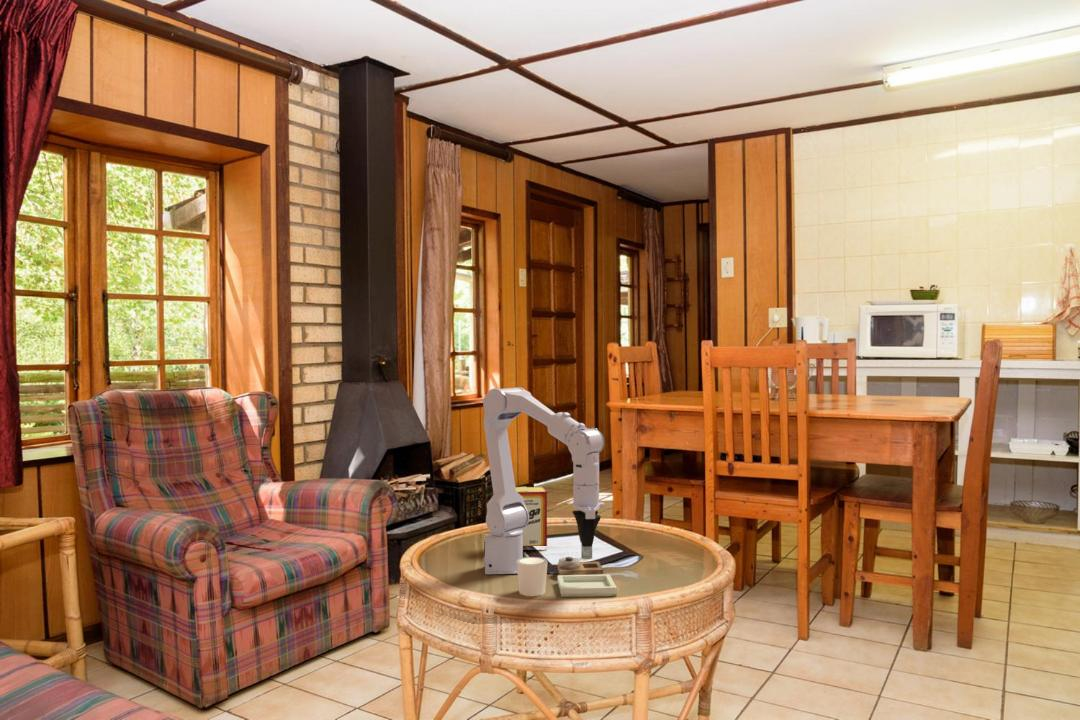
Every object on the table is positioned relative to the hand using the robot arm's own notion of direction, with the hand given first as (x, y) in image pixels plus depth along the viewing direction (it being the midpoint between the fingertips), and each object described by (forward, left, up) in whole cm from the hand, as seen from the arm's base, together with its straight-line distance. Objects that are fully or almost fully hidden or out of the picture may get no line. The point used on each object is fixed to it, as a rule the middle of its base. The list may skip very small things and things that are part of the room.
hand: (586, 544), depth 173 cm
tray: (0, 0, -10) cm, 10 cm away
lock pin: (0, 0, -3) cm, 3 cm away
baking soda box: (-11, +38, -10) cm, 40 cm away
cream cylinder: (-12, -1, -10) cm, 16 cm away
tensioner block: (0, +12, -10) cm, 15 cm away
